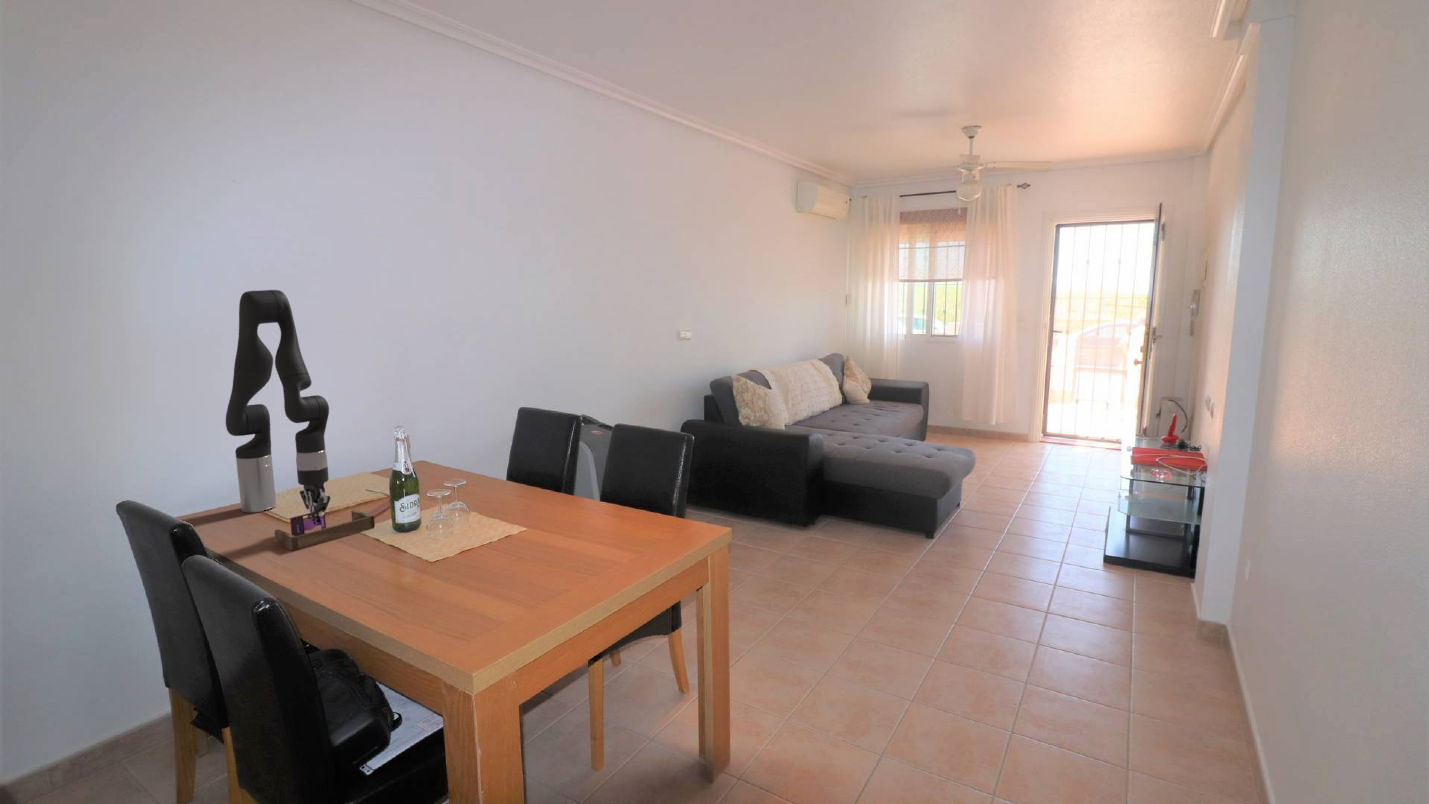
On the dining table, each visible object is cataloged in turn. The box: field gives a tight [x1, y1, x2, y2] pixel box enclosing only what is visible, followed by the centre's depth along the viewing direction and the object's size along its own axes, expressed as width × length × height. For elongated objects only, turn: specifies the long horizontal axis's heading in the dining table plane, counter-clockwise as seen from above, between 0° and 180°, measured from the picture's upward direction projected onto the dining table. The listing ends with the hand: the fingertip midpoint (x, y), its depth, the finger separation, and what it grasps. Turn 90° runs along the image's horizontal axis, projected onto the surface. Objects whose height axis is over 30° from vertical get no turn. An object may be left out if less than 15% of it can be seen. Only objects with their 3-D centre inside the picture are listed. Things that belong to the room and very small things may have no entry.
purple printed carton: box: [289, 510, 327, 536], centre depth 188 cm, size 7×5×9 cm
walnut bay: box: [274, 509, 376, 551], centre depth 189 cm, size 10×22×4 cm, turn 146°
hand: (317, 524), depth 192 cm, fingers closed
